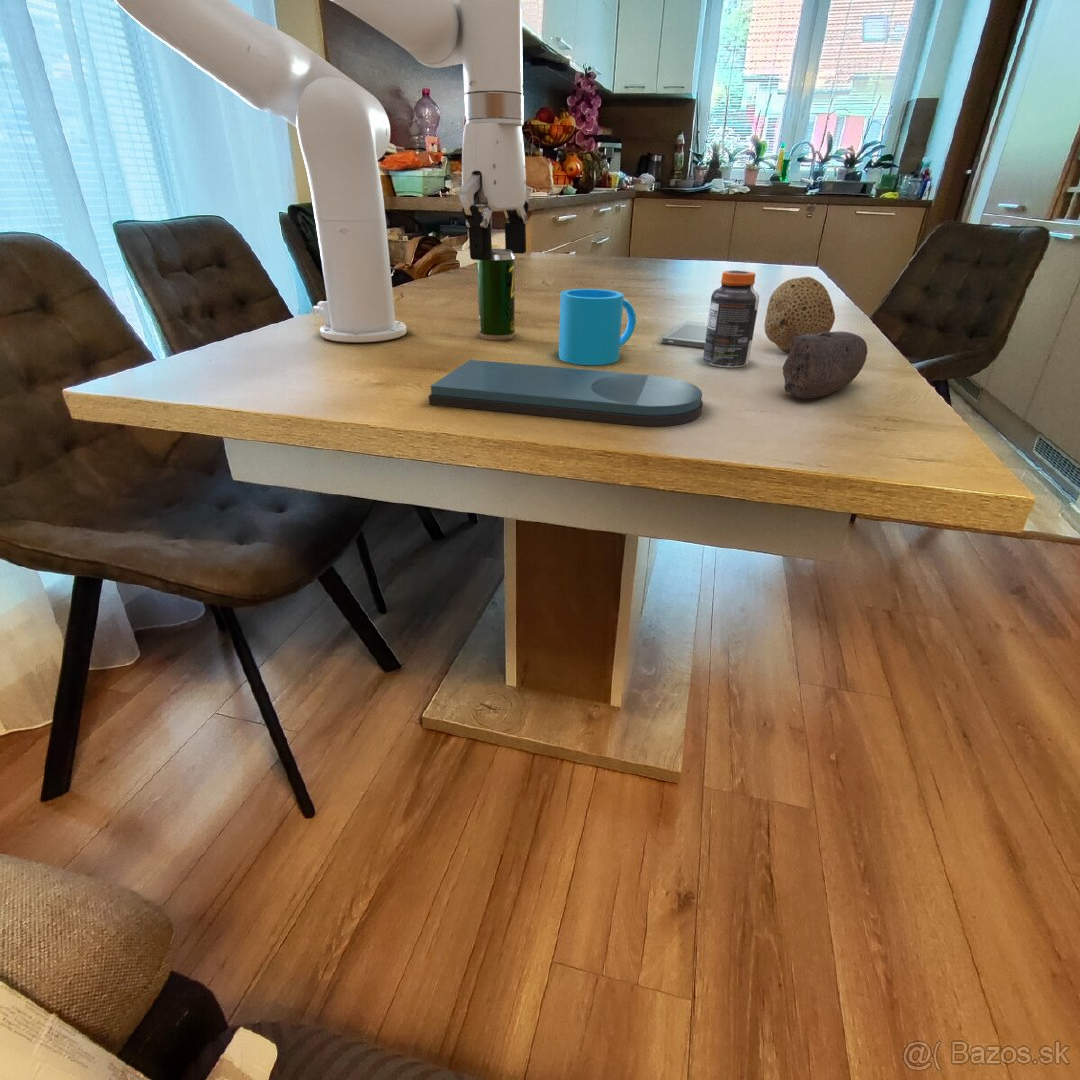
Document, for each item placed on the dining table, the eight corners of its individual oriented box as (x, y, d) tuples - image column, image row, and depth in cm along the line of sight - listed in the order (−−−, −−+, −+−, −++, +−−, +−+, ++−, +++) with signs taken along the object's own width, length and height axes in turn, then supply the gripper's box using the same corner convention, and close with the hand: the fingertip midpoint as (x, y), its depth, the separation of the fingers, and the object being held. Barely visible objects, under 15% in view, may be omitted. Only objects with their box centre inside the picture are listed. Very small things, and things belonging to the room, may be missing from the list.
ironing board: (429, 404, 67) (427, 385, 66) (469, 375, 77) (468, 358, 76) (698, 432, 61) (701, 411, 60) (703, 396, 71) (706, 378, 70)
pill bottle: (756, 363, 85) (772, 271, 79) (734, 371, 81) (750, 275, 76) (716, 355, 88) (729, 267, 83) (693, 362, 85) (706, 270, 79)
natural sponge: (833, 351, 91) (851, 277, 86) (814, 363, 85) (833, 284, 80) (771, 342, 96) (784, 271, 91) (749, 353, 90) (762, 277, 85)
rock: (836, 377, 79) (850, 319, 76) (877, 387, 76) (894, 326, 72) (763, 397, 71) (775, 333, 68) (804, 409, 68) (820, 343, 64)
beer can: (482, 341, 94) (479, 252, 88) (476, 333, 98) (474, 248, 92) (517, 340, 95) (517, 252, 89) (511, 332, 99) (510, 248, 93)
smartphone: (716, 349, 91) (716, 344, 91) (660, 342, 94) (661, 337, 94) (736, 330, 103) (737, 325, 102) (686, 325, 106) (687, 320, 105)
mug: (584, 368, 81) (587, 300, 77) (546, 355, 87) (547, 291, 83) (652, 356, 87) (658, 293, 83) (612, 344, 93) (617, 285, 89)
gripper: (502, 118, 91) (506, 249, 99) (431, 108, 77) (442, 261, 86) (549, 116, 88) (549, 251, 96) (484, 105, 74) (490, 264, 83)
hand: (499, 256), depth 91 cm, fingers open, 9 cm apart
